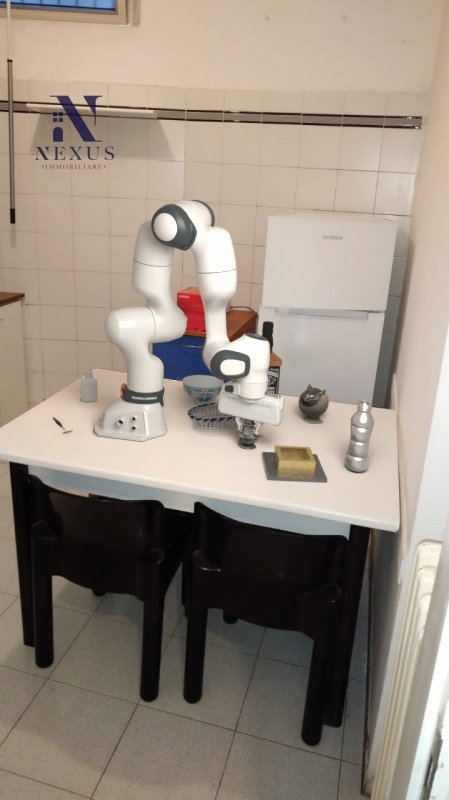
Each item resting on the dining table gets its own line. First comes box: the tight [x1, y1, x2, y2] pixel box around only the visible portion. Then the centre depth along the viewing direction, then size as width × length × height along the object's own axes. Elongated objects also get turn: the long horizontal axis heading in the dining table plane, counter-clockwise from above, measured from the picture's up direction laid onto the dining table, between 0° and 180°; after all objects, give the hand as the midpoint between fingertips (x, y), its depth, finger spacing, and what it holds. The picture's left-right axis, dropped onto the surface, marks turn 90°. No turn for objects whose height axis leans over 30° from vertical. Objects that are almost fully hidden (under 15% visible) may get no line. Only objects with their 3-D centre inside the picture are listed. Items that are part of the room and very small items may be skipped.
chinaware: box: [182, 374, 225, 405], centre depth 209 cm, size 15×15×8 cm
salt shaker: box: [238, 418, 259, 451], centre depth 172 cm, size 6×6×12 cm
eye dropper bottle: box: [80, 367, 99, 403], centre depth 201 cm, size 4×6×12 cm
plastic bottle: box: [344, 400, 375, 473], centre depth 160 cm, size 6×7×20 cm
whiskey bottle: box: [261, 320, 283, 394], centre depth 199 cm, size 10×10×32 cm
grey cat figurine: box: [298, 383, 330, 425], centre depth 197 cm, size 10×12×10 cm
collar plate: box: [262, 445, 328, 484], centre depth 161 cm, size 16×16×4 cm
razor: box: [52, 417, 73, 434], centre depth 179 cm, size 3×16×2 cm, turn 33°
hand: (248, 432), depth 172 cm, fingers closed on salt shaker, 3 cm apart
